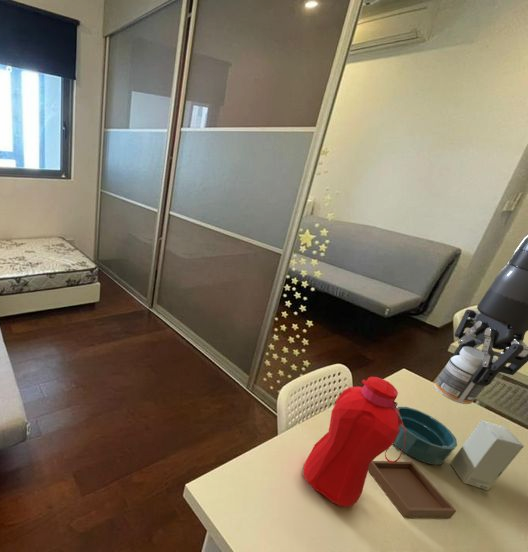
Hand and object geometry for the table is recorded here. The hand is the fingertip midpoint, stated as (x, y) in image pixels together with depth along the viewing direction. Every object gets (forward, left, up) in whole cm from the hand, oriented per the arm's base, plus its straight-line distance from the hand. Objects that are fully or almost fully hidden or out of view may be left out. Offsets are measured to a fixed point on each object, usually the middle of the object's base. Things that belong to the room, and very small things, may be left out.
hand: (467, 372), depth 60 cm
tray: (+4, +10, -24) cm, 26 cm away
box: (-11, 0, -24) cm, 26 cm away
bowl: (-3, -5, -24) cm, 24 cm away
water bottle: (+18, +14, -24) cm, 33 cm away
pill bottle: (0, 0, -6) cm, 6 cm away
